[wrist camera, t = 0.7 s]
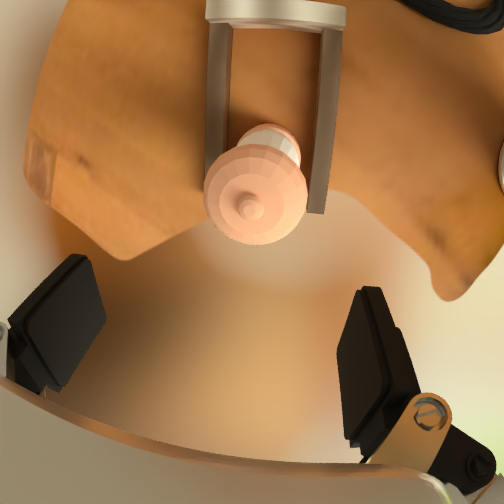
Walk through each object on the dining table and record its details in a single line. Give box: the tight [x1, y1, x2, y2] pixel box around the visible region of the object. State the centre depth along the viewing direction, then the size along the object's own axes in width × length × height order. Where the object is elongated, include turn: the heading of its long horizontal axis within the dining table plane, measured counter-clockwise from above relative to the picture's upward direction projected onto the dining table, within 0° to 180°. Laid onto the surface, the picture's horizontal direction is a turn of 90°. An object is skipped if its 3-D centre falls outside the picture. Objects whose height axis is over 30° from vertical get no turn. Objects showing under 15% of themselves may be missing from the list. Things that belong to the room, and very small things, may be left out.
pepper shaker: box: [203, 123, 308, 245], centre depth 25 cm, size 7×7×19 cm
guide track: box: [205, 0, 346, 214], centre depth 29 cm, size 14×24×5 cm, turn 177°
